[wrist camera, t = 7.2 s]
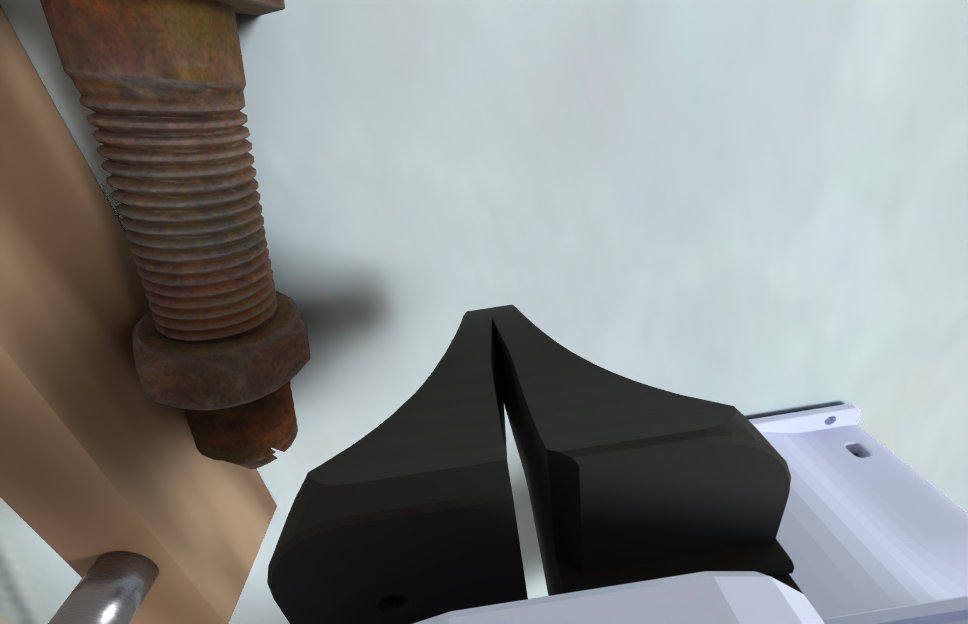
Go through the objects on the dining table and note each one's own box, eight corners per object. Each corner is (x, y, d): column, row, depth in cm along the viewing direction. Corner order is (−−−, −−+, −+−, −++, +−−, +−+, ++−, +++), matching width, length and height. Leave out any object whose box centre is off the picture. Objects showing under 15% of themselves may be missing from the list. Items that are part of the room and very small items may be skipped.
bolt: (268, 378, 19) (183, -57, 11) (358, 420, 17) (327, -60, 10) (121, 471, 14) (-186, -174, 7) (226, 541, 12) (-31, -219, 5)
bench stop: (-20, -30, 10) (-721, -219, 4) (276, 506, 19) (199, 692, 13) (-143, -12, 10) (-1039, -177, 4) (213, 516, 19) (106, 708, 13)
